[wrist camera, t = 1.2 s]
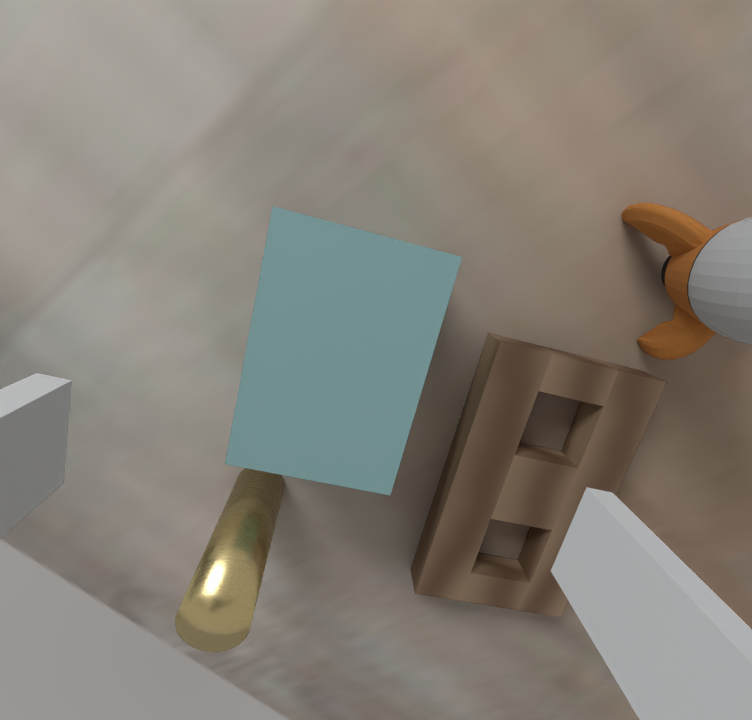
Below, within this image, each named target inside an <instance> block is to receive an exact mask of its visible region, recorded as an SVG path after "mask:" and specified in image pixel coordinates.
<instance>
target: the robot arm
mask: <svg viewBox="0 0 752 720" xmlns="http://www.w3.org/2000/svg"><path fill="white" fill-rule="evenodd" d="M71 384H72V380H68V379H63V378H58V377H53V376H48V375H43V374H39V373H36V374H33V375H31V376H29V377H27V378H24V379H22V380H20V381H18V382H15V383H13V384H11V385H9V386H6V387H4V388H2V389H0V538H1V537H2V536H4V535H5V534H6V533H7V532H8V531H9V530H10V529H12V528H13V527H14V526H15V525H16V524H17V523H18V522H20V521H21V520H22V519H23V518H24V517H25V516H27V515H28V514H29V513H30V512H31V511H32V510H33V509H35V508H36V507H37V506H38V505H39V504H40V503H41V502H43V501H44V500H45V499H46V498H47V497H48V496H49V495H51V494H52V493H53V492H54V491H55V490H56V489H58V488H59V487H60V486H61V485H62V484H63V483H64V471H65V458H66V446H67V433H68V421H69V408H70V396H71ZM551 572H552V574H553V576H554V577H555V579H556V581H557V582H558V584H559V586H560V587H561V589H562V591H563V592H564V594H565V596H566V597H567V599H568V601H569V602H570V604H571V606H572V607H573V609H574V611H575V612H576V614H577V616H578V617H579V619H580V621H581V622H582V624H583V626H584V627H585V629H586V631H587V632H588V634H589V636H590V637H591V639H592V641H593V643H594V644H595V646H596V648H597V649H598V651H599V653H600V654H601V656H602V658H603V659H604V661H605V663H606V664H607V666H608V668H609V669H610V671H611V673H612V674H613V676H614V678H615V679H616V681H617V683H618V684H619V686H620V688H621V689H622V691H623V693H624V694H625V696H626V698H627V699H628V701H629V703H630V704H631V706H632V708H633V709H634V711H635V713H636V714H637V716H638V718H639V719H640V720H752V629H751V628H750V627H749V626H748V625H747V624H746V623H745V622H744V621H743V620H742V619H741V618H740V617H739V616H738V615H736V614H735V613H734V612H733V611H732V610H731V609H730V608H729V607H728V606H727V605H726V604H725V603H724V602H723V601H722V600H721V599H720V598H719V597H718V596H717V595H716V594H715V593H714V592H713V591H712V590H711V589H710V588H709V587H708V586H707V585H706V584H705V583H704V582H703V581H702V580H701V579H700V578H699V577H698V576H697V575H696V574H695V573H694V572H693V571H692V570H691V569H690V568H689V567H688V566H687V565H686V564H685V563H684V562H683V561H681V560H680V559H679V558H678V557H677V556H676V555H675V554H674V553H673V552H672V551H671V550H670V549H669V548H668V547H667V546H666V545H665V544H664V543H663V542H662V541H661V540H660V539H659V538H658V537H657V536H656V535H655V534H654V533H653V532H652V531H651V530H650V529H649V528H648V527H647V526H646V525H645V524H644V523H643V522H642V521H641V520H640V519H639V518H638V517H637V516H636V515H635V514H634V513H633V512H632V511H631V510H630V509H629V508H628V507H626V506H625V505H624V504H623V503H622V502H621V501H620V500H619V499H618V498H617V497H616V496H615V495H614V494H613V493H612V492H607V491H602V490H598V489H593V488H588V487H586V490H585V492H584V494H583V497H582V499H581V501H580V504H579V506H578V508H577V511H576V513H575V515H574V518H573V520H572V522H571V525H570V527H569V529H568V532H567V534H566V536H565V539H564V541H563V543H562V546H561V548H560V550H559V553H558V555H557V557H556V560H555V562H554V564H553V567H552V569H551Z"/></svg>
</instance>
